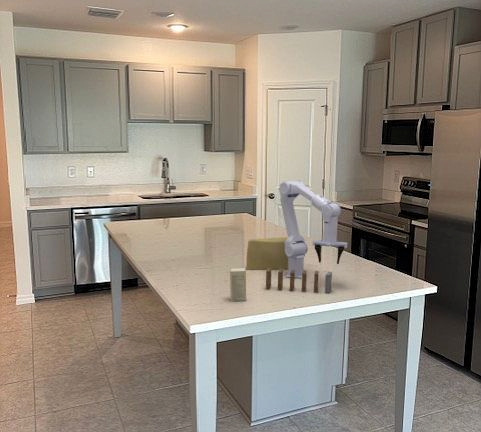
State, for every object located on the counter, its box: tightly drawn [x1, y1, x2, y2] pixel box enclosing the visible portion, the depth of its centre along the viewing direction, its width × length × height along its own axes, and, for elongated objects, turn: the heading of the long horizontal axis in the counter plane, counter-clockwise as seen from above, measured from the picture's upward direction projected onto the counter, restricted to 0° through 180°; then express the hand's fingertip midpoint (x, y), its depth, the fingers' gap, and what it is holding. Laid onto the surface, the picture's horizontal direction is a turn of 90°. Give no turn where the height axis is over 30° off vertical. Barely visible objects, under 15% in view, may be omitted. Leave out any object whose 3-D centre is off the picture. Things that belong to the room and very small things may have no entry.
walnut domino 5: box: [313, 270, 320, 294], centre depth 202 cm, size 2×5×8 cm, turn 170°
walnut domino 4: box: [301, 269, 308, 293], centre depth 203 cm, size 2×5×8 cm, turn 169°
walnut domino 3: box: [289, 269, 296, 292], centre depth 204 cm, size 2×5×8 cm, turn 170°
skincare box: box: [229, 267, 247, 302], centre depth 190 cm, size 6×4×12 cm
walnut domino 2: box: [277, 269, 284, 292], centre depth 204 cm, size 2×5×8 cm, turn 169°
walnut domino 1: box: [265, 268, 272, 291], centre depth 205 cm, size 2×5×8 cm, turn 170°
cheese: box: [246, 236, 288, 271], centre depth 235 cm, size 22×10×15 cm, turn 103°
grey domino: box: [324, 271, 333, 295], centre depth 201 cm, size 2×5×8 cm, turn 158°
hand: (328, 262), depth 208 cm, fingers open, 7 cm apart
